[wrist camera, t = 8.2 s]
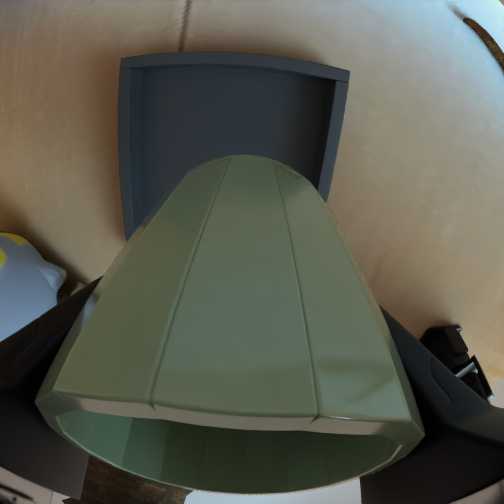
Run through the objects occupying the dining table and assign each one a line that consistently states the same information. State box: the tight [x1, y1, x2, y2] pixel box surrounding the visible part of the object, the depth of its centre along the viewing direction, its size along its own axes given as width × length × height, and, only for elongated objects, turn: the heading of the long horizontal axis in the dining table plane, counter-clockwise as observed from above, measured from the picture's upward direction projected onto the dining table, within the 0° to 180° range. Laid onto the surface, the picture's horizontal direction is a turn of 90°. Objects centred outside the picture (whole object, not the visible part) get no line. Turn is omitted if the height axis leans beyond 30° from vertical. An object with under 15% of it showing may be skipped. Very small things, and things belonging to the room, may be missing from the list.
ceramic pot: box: [62, 455, 194, 504], centre depth 25 cm, size 24×24×22 cm
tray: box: [118, 52, 350, 241], centre depth 17 cm, size 16×14×2 cm
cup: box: [35, 155, 425, 495], centre depth 7 cm, size 7×7×8 cm
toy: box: [0, 231, 67, 341], centre depth 18 cm, size 23×14×15 cm
